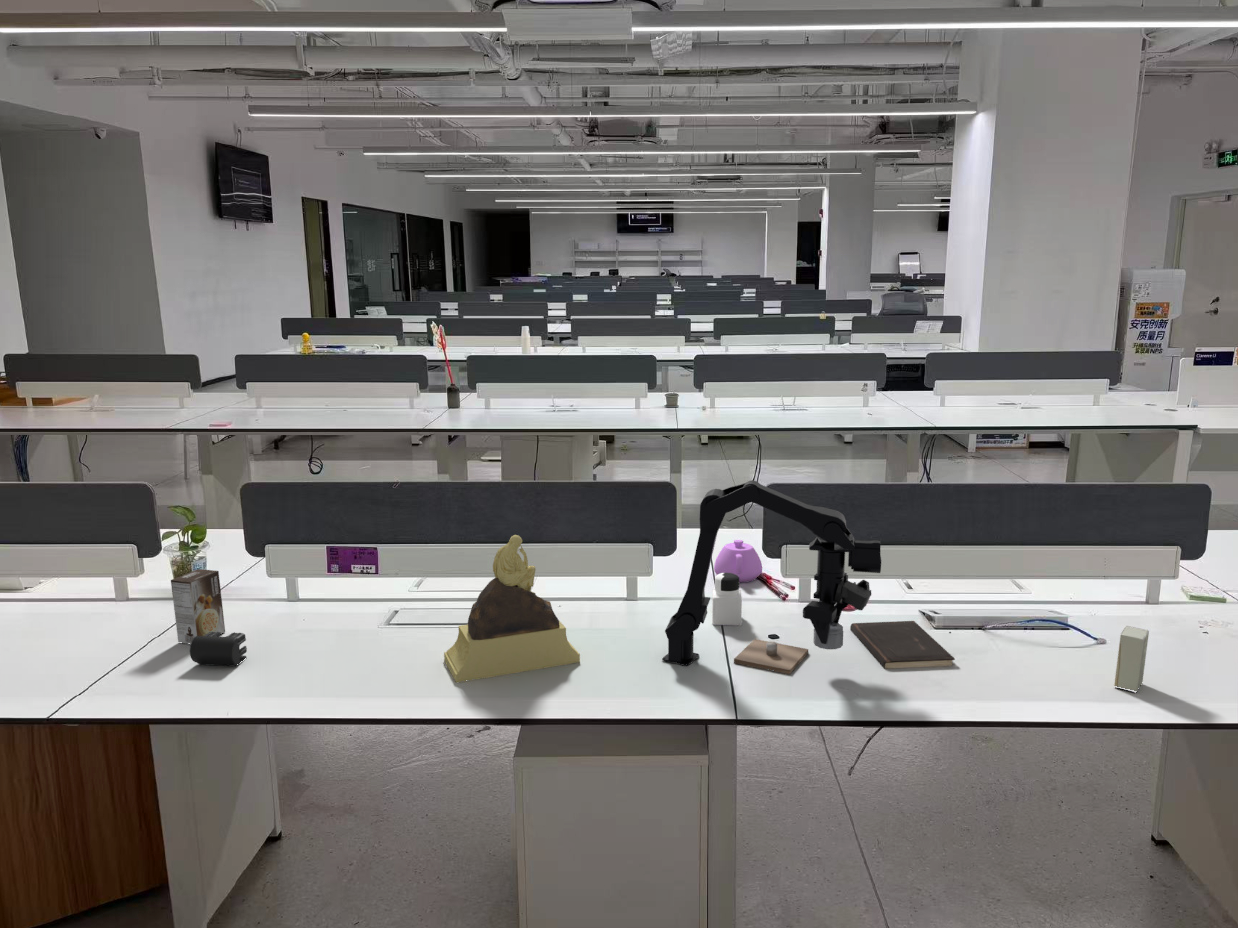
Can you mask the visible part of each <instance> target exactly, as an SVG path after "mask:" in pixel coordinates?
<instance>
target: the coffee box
mask: <svg viewBox="0 0 1238 928" xmlns="http://www.w3.org/2000/svg"><path fill="white" fill-rule="evenodd" d="M170 585H171V586H170V587H171V594H172V600H173V610H174V618H175V619H174V620H175V626H176V634H177V642H182V643H190V644H191V643H192V641H193V639H194V638H195V637H196V636H205V635H206V634H207V633H209V632H221V635H223V634H225V633H226V627H225V625H226V624H225V618H224V617H225V616H224V609H223V599H222V591H221V582H220V573H219V570H211V569H202V568H201V569H200V568H199V569H196V570H193V571H189V572H188V573H185V574H183V575H181V576H178V577H175V578H173V579H170ZM224 632H225V633H224ZM222 633H223V634H222ZM182 643H181V644H182Z"/></svg>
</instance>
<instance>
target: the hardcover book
mask: <svg viewBox="0 0 1238 928" xmlns="http://www.w3.org/2000/svg"><path fill="white" fill-rule="evenodd" d="M849 630H850V631H851V633H852V634H853V635H854V636H855V637H856V639H858V641H859V642H860V643H861V645H863V646H864V648H865V649H866V650H867V651H868V652H869V654H871V655H872V657H873V658H874V659H875V660H876V662H877V663H878V664H880V666H881V667H882V668H883V670H885V669H897V668H898V669H902V668H904V669H905V668H922V667H923V668H925V667H927V668H929V667H947V666H950V667H951V666H953V661H955V660H956V659H955V657H954V656H953V655H952V654H950V653H949V652H948V651H947V650H946V648H944V647H943V646H942V645H941V644H940V643H939V642H938V641H936V640H935V639H934V638H933V637H932V636H931V635H930V634H929V633H928V632H926V630H925V629H924V628H922V627H921V626H920V625H919V624H918V623H917V622H916V621H914V620H901V621H899V620H898V621H897V620H896V621H877V622H875V621H874V622H853V623H851V624H850V627H849Z"/></svg>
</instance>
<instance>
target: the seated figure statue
mask: <svg viewBox="0 0 1238 928" xmlns="http://www.w3.org/2000/svg"><path fill="white" fill-rule="evenodd" d="M522 543H523V539H522V537H521V536H520V535H519V534H518V535H517V534H514V535H511V537H510V539H509V541H508V542H507V543H506V544H505V545H503V546H501V547H500V548H498V550H497V552H496V554H495V555H494V558H493V559H494V560H493V563H492V572H493V574H494V578H492V579H491V580H490V581H489V582H488V583H487V584H486V586H485V587H484V588H483V589H482V590H481V591H480V593H479V595H478V597H477V599H476V601H475V602H474V603H472V606H471V608H470V612H469V614H468V615H469V616H468V619H467V624H461V625H458V635H457V638H456V640H455V642H454V643H453V645H452V646H451V647H450V648H448V649H447V650H446V651H444V652H443V657H444V658H443V660H444V662H445V664H446V666H447V668H448V670H449V671H450V674H451V676H452V677H453V680H454V679H455V680H454V681H456V682H455V683H457V682H458V683H462V682H461V681H464V682H467V681H466V680H470V681H473V680H472V679H476V680H479V679H478V678H482V679H487V678H492V677H499V676H505V675H511V674H516V673H522V672H529V671H534V670H539V669H540V670H541V669H546V668H552V667H553V668H554V667H558V666H564V665H570V664H575V663H577V664H578V663H580V662H581V657H580V656H581V655H580V653H579V651H578V650H577V649H576V648H575V647H574V646H573V645H572V644H571V642H570V641H569V640H568V636H567V627H566V626H565V625H564V624H563V623H562V622H561V621H560V620H559V619H558V617H557V616H556V614H555V612H554V609H553V606H552V604H551V603H552V602H551V601H549V600H545V599H544V598H542V597H539V596H538V595H536V592H533V591H532V587H534V584H535V583H534V582H535V574H536V570H537V569H536V567H535V566H534V565H529V561H528V556H527V553H526V551H525V550H524V548H523V546H522ZM518 551H519V553H521V554H522V555H523V559H522V557H521V555H520V554H519V553H518ZM458 683H457V684H458Z"/></svg>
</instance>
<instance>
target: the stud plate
mask: <svg viewBox="0 0 1238 928" xmlns="http://www.w3.org/2000/svg"><path fill="white" fill-rule="evenodd" d="M808 654H809V648H804V647H799V646H794V645H788V644H784V643H783V644H782V643H779V642H776V641H772V640H771V641H767V640H761V639H757V638H754V639H753V640H752V641H751V642H750V643H749V644H748V645H747V646H746V647H745V648H743V650H742V651H741V652H739V653H738V654H737V655H736V656H735V657H734V658H733V664H737V665H743V666H746V667H752V668H756V667H758V668H757V669H761V668H763V669H762V670H766V669H769V670H768V671H771V670H774V671H773V672H776V671H777V672H776V673H780V672H781V673H782V674H784V675H785V674H786V675H790V674H792V673H793V671H794V670H795V669H796V668H797V667H798V666H799V664H800V663H801V662H802V661H803V660H804V659H805V658H806V656H808Z"/></svg>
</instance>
